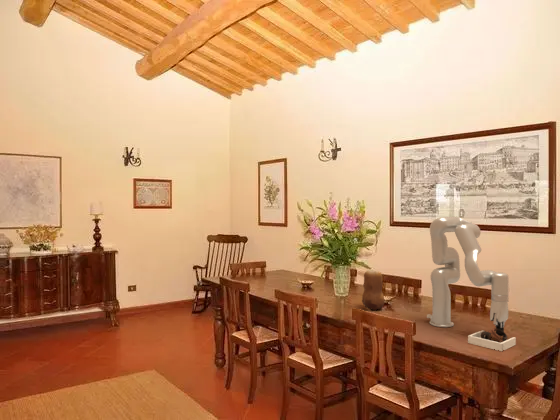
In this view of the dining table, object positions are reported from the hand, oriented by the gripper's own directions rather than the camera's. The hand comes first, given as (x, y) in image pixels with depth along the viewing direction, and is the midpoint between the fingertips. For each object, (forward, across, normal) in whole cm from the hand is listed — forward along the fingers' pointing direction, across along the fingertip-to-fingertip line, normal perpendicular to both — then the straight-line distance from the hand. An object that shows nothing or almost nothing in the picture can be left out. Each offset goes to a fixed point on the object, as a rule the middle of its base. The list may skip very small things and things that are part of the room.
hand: (499, 335), depth 219 cm
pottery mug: (+3, +7, 0) cm, 8 cm away
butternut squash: (+3, -4, -81) cm, 81 cm away
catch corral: (+3, +8, 0) cm, 8 cm away
